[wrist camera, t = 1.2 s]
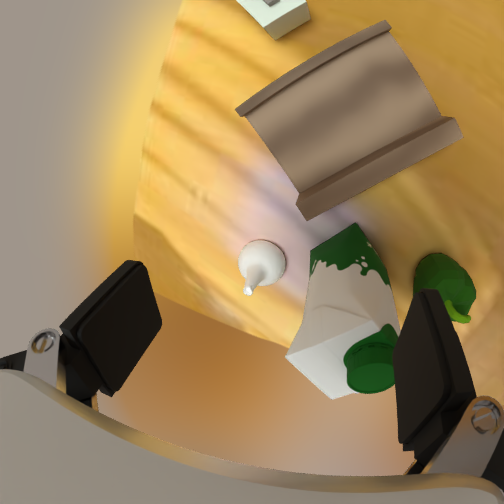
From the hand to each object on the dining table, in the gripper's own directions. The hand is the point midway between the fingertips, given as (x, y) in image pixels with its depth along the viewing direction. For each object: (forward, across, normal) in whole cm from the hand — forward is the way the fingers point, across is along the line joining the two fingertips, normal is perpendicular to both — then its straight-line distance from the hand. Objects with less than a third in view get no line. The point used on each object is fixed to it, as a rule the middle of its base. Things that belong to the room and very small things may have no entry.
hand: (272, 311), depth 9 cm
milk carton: (+26, -5, +12) cm, 29 cm away
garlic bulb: (+26, +6, +13) cm, 30 cm away
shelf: (+25, -4, -6) cm, 26 cm away
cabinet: (+26, +3, -18) cm, 32 cm away
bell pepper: (+26, -18, +13) cm, 34 cm away
